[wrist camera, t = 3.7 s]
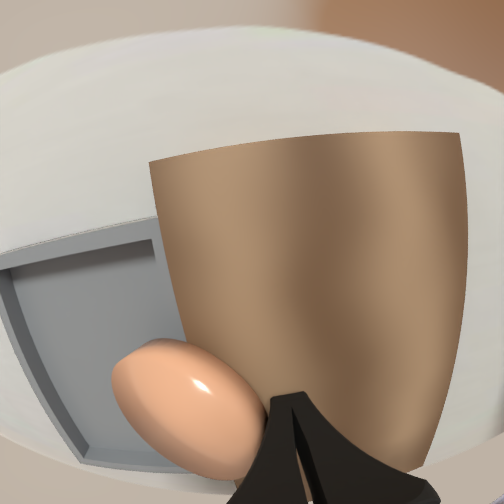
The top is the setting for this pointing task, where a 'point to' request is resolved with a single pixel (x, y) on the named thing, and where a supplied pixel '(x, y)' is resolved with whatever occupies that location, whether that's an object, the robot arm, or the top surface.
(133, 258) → the tray
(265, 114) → the top surface
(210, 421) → the peach rounded disc
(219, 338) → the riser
